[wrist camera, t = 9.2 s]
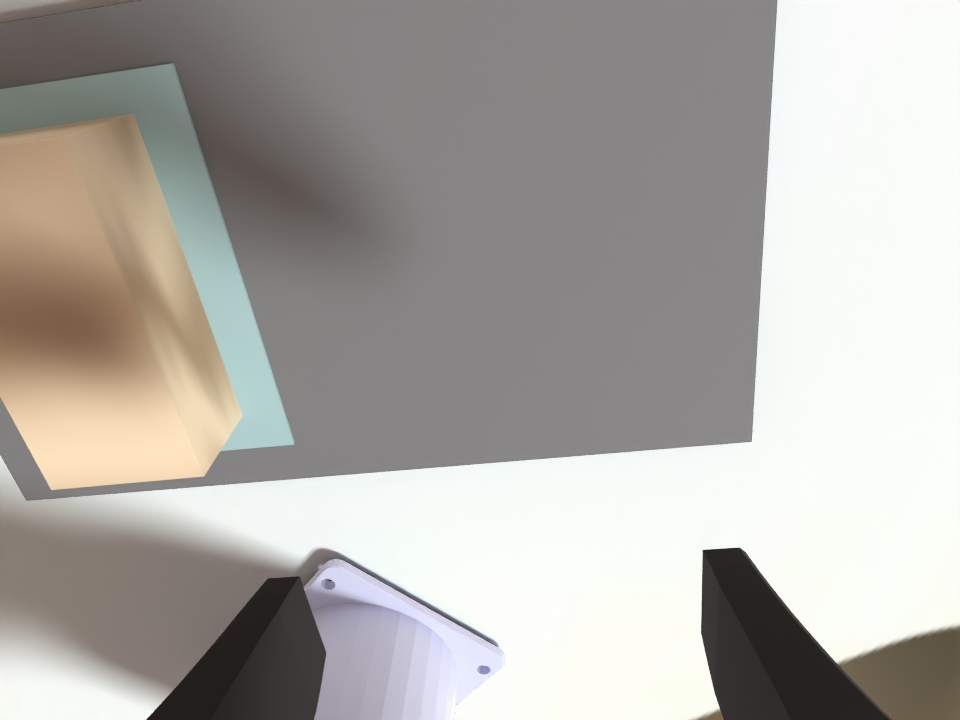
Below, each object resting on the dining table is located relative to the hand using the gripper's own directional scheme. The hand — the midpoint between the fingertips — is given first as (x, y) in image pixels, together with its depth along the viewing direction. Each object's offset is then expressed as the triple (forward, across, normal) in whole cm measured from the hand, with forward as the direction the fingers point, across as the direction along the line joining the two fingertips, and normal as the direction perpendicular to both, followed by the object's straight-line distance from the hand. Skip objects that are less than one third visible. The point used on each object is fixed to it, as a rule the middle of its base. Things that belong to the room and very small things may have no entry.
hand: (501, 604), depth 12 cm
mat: (+9, +5, -4) cm, 11 cm away
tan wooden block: (+9, +11, -4) cm, 14 cm away
